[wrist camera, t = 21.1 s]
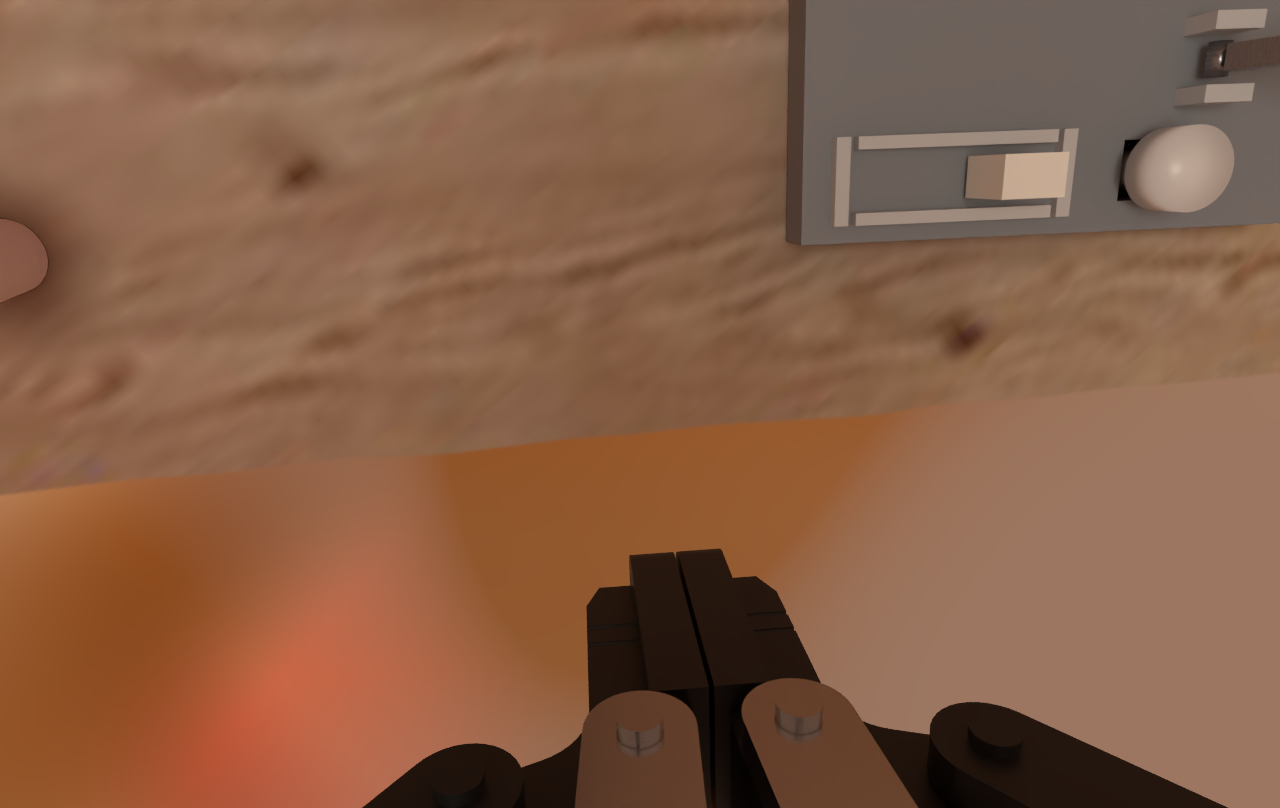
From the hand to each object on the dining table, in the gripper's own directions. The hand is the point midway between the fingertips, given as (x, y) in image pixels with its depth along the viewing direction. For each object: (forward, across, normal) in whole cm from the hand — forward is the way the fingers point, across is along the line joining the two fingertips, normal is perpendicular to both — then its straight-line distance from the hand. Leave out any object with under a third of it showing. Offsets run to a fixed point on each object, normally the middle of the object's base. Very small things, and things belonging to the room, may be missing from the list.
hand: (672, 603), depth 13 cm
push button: (+31, -28, -6) cm, 42 cm away
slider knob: (+28, -20, -6) cm, 35 cm away
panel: (+31, -23, -9) cm, 40 cm away
